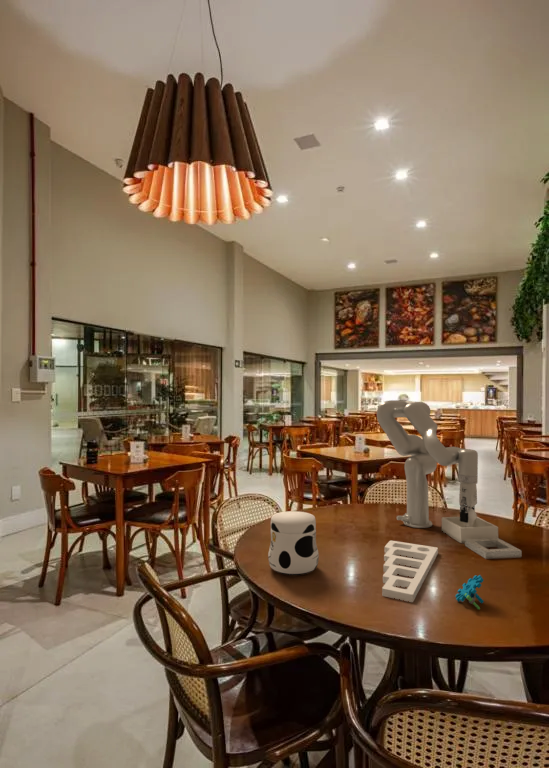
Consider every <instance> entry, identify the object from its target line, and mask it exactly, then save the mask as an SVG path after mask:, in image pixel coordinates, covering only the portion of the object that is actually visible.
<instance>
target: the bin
mask: <svg viewBox="0 0 549 768" xmlns="http://www.w3.org/2000/svg"><path fill="white" fill-rule="evenodd" d="M442 531H443V532H442ZM441 532H442V533H443V534H445V533H446V535H447V536H449V537H450V538H452V539H453V540H454V541H457V542H458V543H460V544H465V540H466V539H489V538H499V527H498V526H497V525H496V524H493V523H491V522H489V521H487V520H485V519H483V518H480V517H479V516H477V517H476V520H475V521H474V523H473V526H472V527H465V525H464V522H461V521H460V516H442V517H441Z"/></svg>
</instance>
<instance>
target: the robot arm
mask: <svg viewBox="0 0 549 768" xmlns="http://www.w3.org/2000/svg"><path fill="white" fill-rule="evenodd" d="M430 415H431V408H430V406H429V405H428V404H427V403H425V402H423V401H413V400H412V401H411V400H403V399H402V400H400V399H399V400H398V399H395V400H393V399H392V400H385V401H383V402H381V403H380V404H379V406H378V407H377V409H376V418H377V419H376V420H377V422H378V425H379V426H380V428H381V429H382V430H383V432H384V433H385V434H386V436H387V438H388V440H389V441H390V443H391V444H392V446H393V448H394V449H395V451H396V452H397V454H399V455H400V456H403V457H407V456H409V457H408V458H407V459H406V460H405V462H404V474H405V480H406V512H405V513H404V514H403V515H396V520H397V521H401V522H403V524H404V525H405V526H407V527H410V528H414V529H415V528H417V529H427V528H430V527H432V526H433V522H432V521H431V520H429V518H430V517H429V514H430V513H429V483H428V479H427V475H428V474H429V475H430V474H432V473H434V472H435V471H436V469H437V466H438V464H439V465H440V466H442V467H447V466H451V465H458V468H457V469H458V470H457V471H458V472H457V474H458V475H457V477H458V478H457V479H458V480H457V482H458V483H459V494H458V495H459V499H458V502H459V517H460V521H461V522H466V523H468V513H467V512H468V507H469V508H472V509H473V510H474V511H475V512H476V508H475V507H476V505H477V504H478V492H477V491H478V488H477V484H478V480H479V479H478V466H479V463H478V462H479V461H478V460H479V458H478V457H479V455H478V454H479V453H478V451H477V450H475V449H469V448H460V447H458V446H449V447H446V446H444V444H443V443H442V442H441V440H439V438H438V436H437V430H438V427H439V426H438V424H437V422H435V421H434V419H432V417H431V416H430ZM397 418H404V419H407V421H409V422H410V424H411V425H412V426H413V427H414V429H415V430H416V431H417V432H418V433H419V435H420V436H421V437H420V436H418V435H416V434H408V433H407V430H405V429H404V426H403V425H402V424H401V423H400V422H399V421H397ZM465 508H466V509H465Z"/></svg>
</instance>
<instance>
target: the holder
mask: <svg viewBox="0 0 549 768" xmlns="http://www.w3.org/2000/svg"><path fill="white" fill-rule="evenodd" d="M438 548H439V547H436V546H430V545H424V544H423V545H422V544H417V543H411V542H410V543H409V542H403V541H399V540H392V539H391V540H389V541H388V542H387V543H386V544H385V546H384V555H383V562H384V561H385V562H384V563H383V575H382V583H383V586H382V587H381V589H382V590H381V591H382V592H381V594H382V595H381V596H382V597H387V598H389V599H390V598H391V599H394V598H395V599H394V600H399V599H400V600H399V601H403V600H404V601H405V602H408V601H409V603H413V602H414V601H415V599H416V597H417V595H418V593H419V591H420V589H421V588H422V586H423V583H424V581H426V578H427V576H428V574H429V572H430V570H431V568H432V566H433V564H434V563H435V560H436V558H437V556H438V554H439V549H438ZM400 555H401V556H400ZM406 556H407V557H406ZM412 557H413V558H412ZM399 564H400V565H399ZM405 565H406V566H405ZM410 566H411V567H410ZM397 574H399V575H397ZM408 576H409V577H408ZM413 577H414V578H413ZM396 586H397V587H396ZM400 586H401V587H400ZM405 587H407V588H405Z"/></svg>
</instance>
